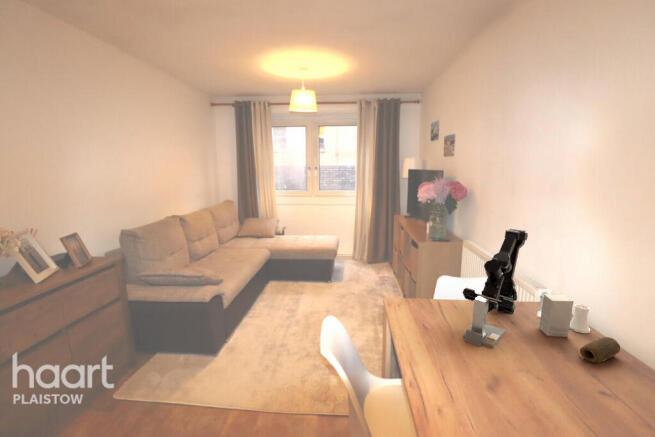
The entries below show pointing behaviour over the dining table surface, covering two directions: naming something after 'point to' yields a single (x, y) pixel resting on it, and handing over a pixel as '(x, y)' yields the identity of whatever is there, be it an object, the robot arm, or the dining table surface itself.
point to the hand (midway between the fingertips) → (481, 318)
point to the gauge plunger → (480, 316)
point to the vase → (580, 319)
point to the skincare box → (556, 315)
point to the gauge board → (491, 332)
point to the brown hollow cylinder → (600, 349)
